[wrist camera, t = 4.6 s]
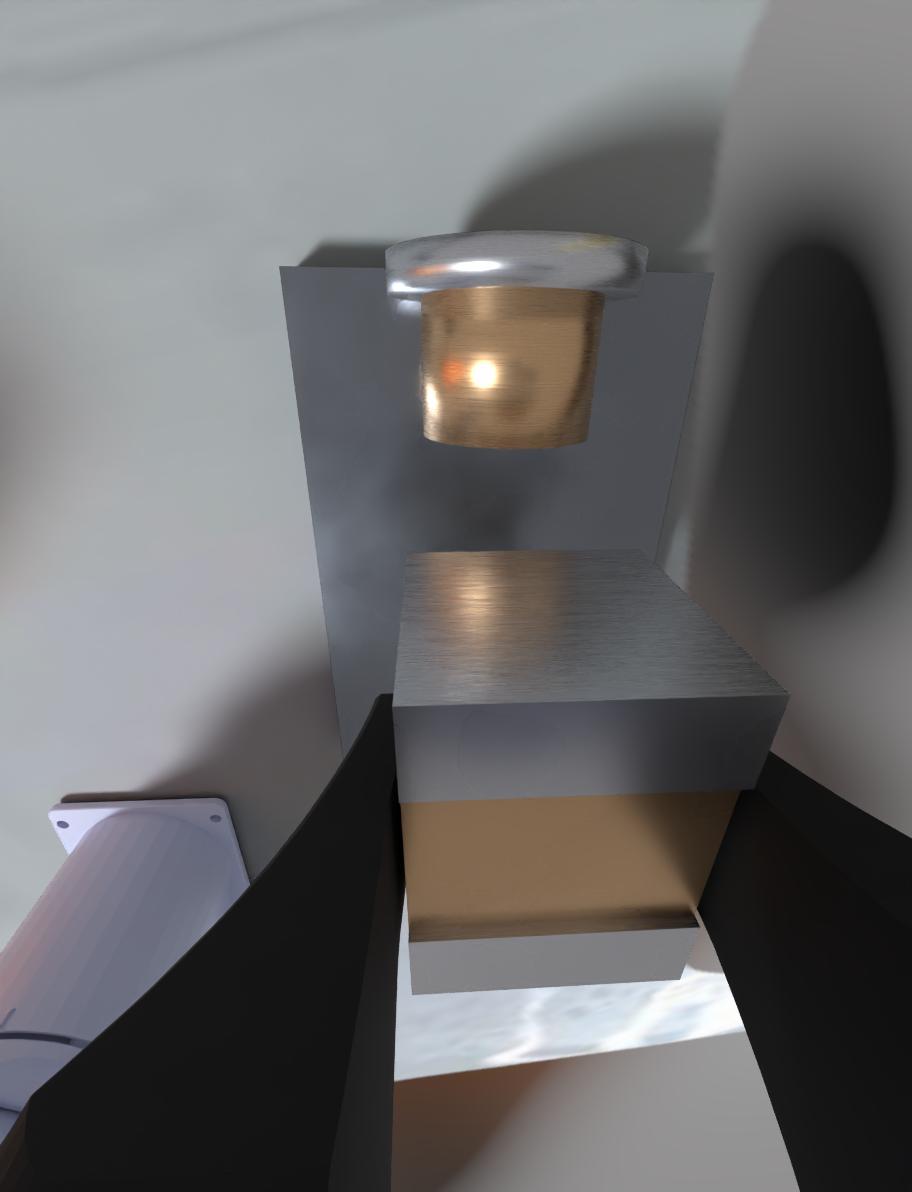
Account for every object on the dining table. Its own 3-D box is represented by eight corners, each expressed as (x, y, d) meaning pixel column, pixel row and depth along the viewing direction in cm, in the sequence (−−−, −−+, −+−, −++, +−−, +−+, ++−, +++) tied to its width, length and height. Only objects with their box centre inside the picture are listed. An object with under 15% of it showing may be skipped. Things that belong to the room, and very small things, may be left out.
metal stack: (605, 741, 23) (662, 870, 18) (348, 749, 23) (322, 885, 17) (693, 278, 15) (858, 236, 9) (290, 272, 14) (199, 223, 9)
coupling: (597, 772, 13) (679, 979, 9) (417, 780, 13) (412, 994, 9) (639, 548, 10) (790, 694, 6) (407, 552, 10) (392, 705, 6)
